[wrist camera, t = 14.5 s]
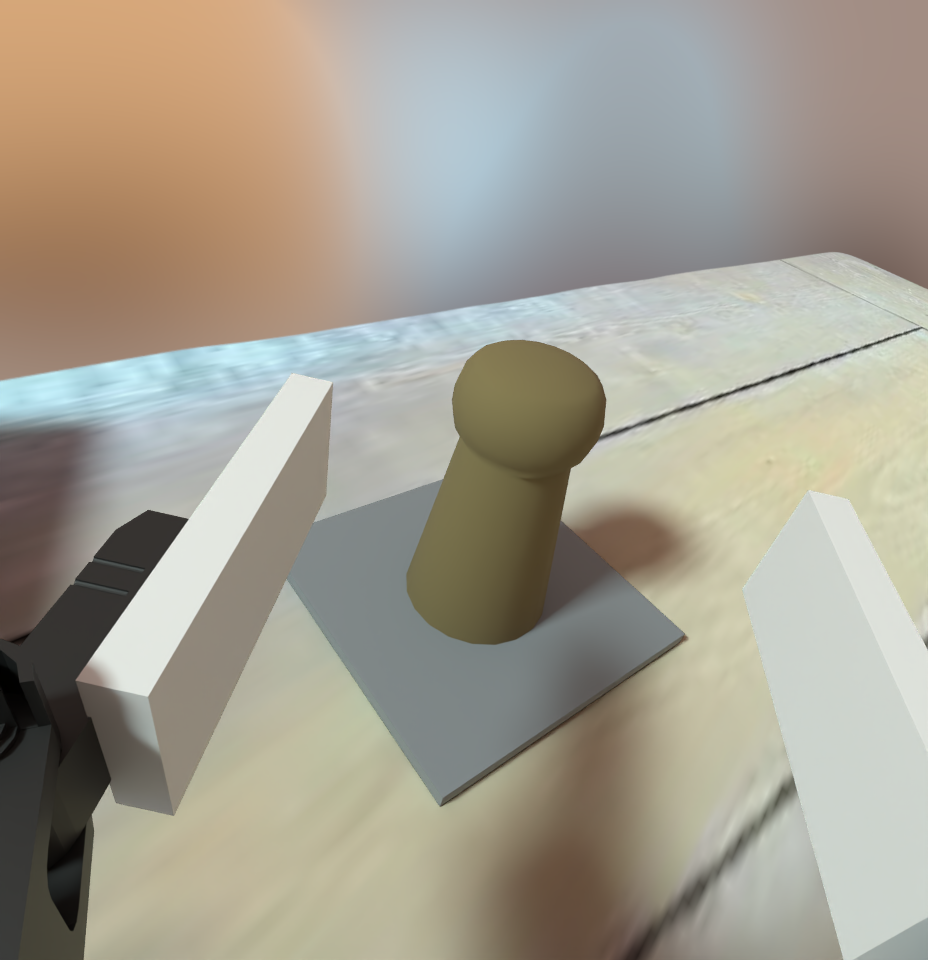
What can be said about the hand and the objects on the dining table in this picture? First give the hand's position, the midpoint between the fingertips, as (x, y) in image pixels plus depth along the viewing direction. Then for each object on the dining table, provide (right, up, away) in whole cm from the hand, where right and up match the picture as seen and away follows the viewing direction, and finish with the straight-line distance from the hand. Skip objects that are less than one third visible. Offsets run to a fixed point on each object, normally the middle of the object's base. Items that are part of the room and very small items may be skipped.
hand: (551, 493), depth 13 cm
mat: (-1, -5, +16) cm, 17 cm away
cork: (-1, -4, +16) cm, 16 cm away
